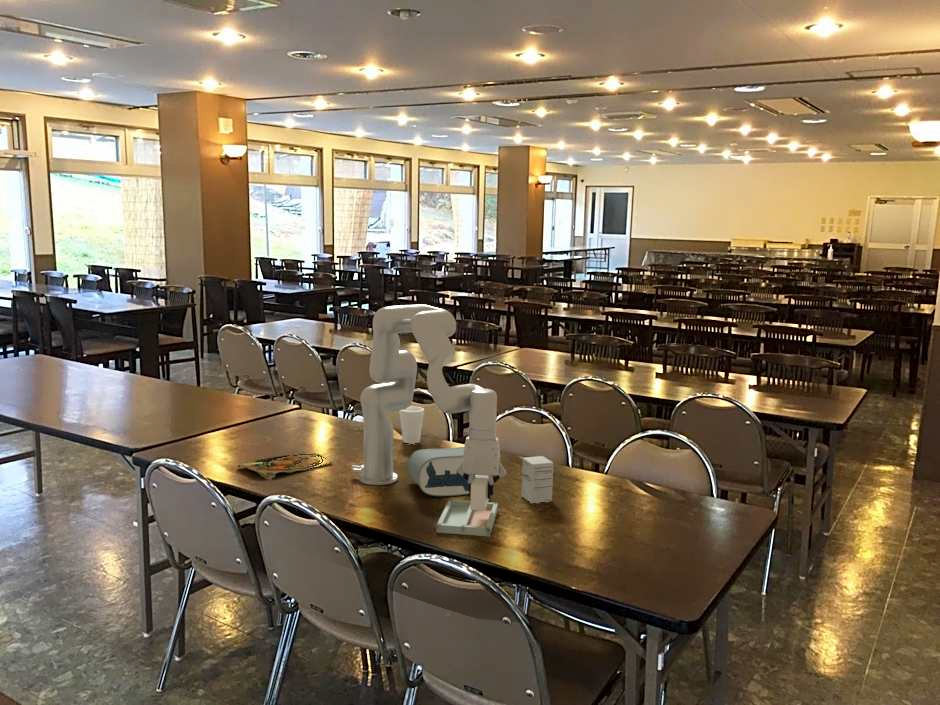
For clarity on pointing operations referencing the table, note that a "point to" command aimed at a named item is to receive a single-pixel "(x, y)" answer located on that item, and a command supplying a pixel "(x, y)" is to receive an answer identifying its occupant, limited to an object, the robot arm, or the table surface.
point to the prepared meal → (279, 464)
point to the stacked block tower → (537, 479)
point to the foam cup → (411, 423)
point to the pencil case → (439, 471)
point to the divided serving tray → (467, 519)
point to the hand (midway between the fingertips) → (481, 496)
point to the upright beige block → (479, 492)
